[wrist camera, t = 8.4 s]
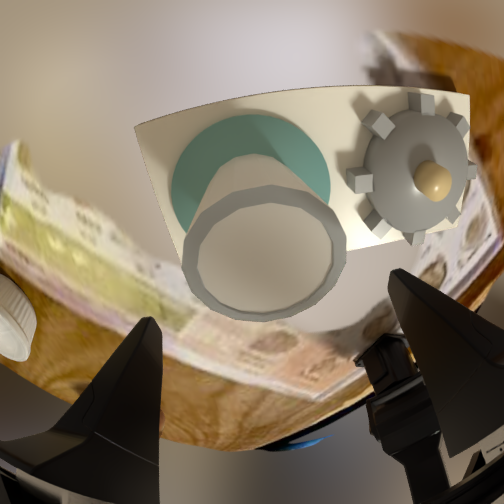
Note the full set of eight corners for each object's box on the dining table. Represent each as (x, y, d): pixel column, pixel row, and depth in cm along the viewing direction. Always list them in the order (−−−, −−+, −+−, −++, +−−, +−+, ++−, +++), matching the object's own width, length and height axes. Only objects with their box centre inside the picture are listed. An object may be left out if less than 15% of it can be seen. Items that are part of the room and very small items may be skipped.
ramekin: (-15, 245, 19) (-40, 275, 14) (54, 308, 24) (36, 344, 20) (-23, 292, 22) (-40, 319, 18) (33, 341, 27) (20, 370, 23)
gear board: (457, 92, 14) (496, 102, 11) (448, 218, 21) (476, 244, 17) (141, 123, 15) (115, 136, 12) (190, 269, 22) (184, 309, 18)
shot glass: (193, 144, 15) (169, 189, 9) (312, 145, 15) (363, 188, 9) (201, 246, 18) (191, 326, 13) (301, 243, 19) (331, 318, 13)
